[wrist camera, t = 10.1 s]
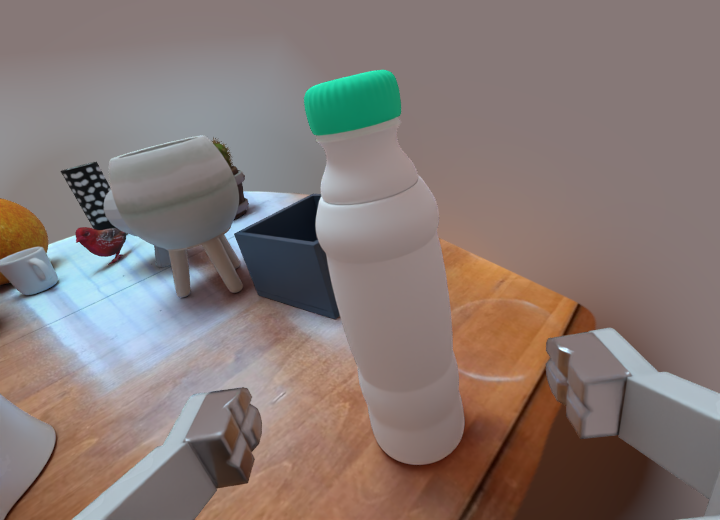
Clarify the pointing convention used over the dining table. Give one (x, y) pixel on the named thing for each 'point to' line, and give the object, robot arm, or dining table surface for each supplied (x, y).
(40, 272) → the cup
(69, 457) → the dining table surface
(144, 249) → the dining table surface
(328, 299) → the bin
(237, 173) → the flowerpot
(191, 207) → the planter
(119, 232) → the decorative bird figurine
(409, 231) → the water bottle
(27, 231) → the decorative sphere
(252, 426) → the robot arm
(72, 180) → the white-spotted black cylinder
